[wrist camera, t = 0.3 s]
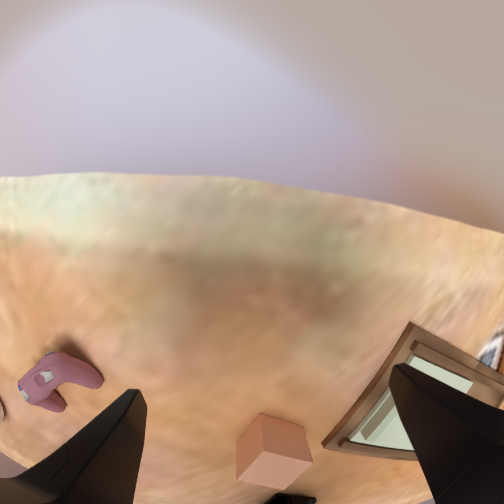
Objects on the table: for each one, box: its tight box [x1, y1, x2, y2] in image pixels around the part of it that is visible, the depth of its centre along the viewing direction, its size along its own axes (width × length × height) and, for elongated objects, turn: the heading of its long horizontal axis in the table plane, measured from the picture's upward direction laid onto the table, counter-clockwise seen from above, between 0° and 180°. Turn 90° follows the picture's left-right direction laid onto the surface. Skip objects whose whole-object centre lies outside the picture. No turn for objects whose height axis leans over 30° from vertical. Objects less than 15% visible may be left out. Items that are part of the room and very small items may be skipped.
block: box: [237, 413, 313, 490], centre depth 22 cm, size 5×5×6 cm
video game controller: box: [18, 351, 103, 412], centre depth 21 cm, size 10×5×7 cm, turn 126°
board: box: [322, 322, 504, 461], centre depth 24 cm, size 16×28×2 cm, turn 62°
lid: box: [348, 353, 473, 450], centre depth 23 cm, size 11×13×2 cm
